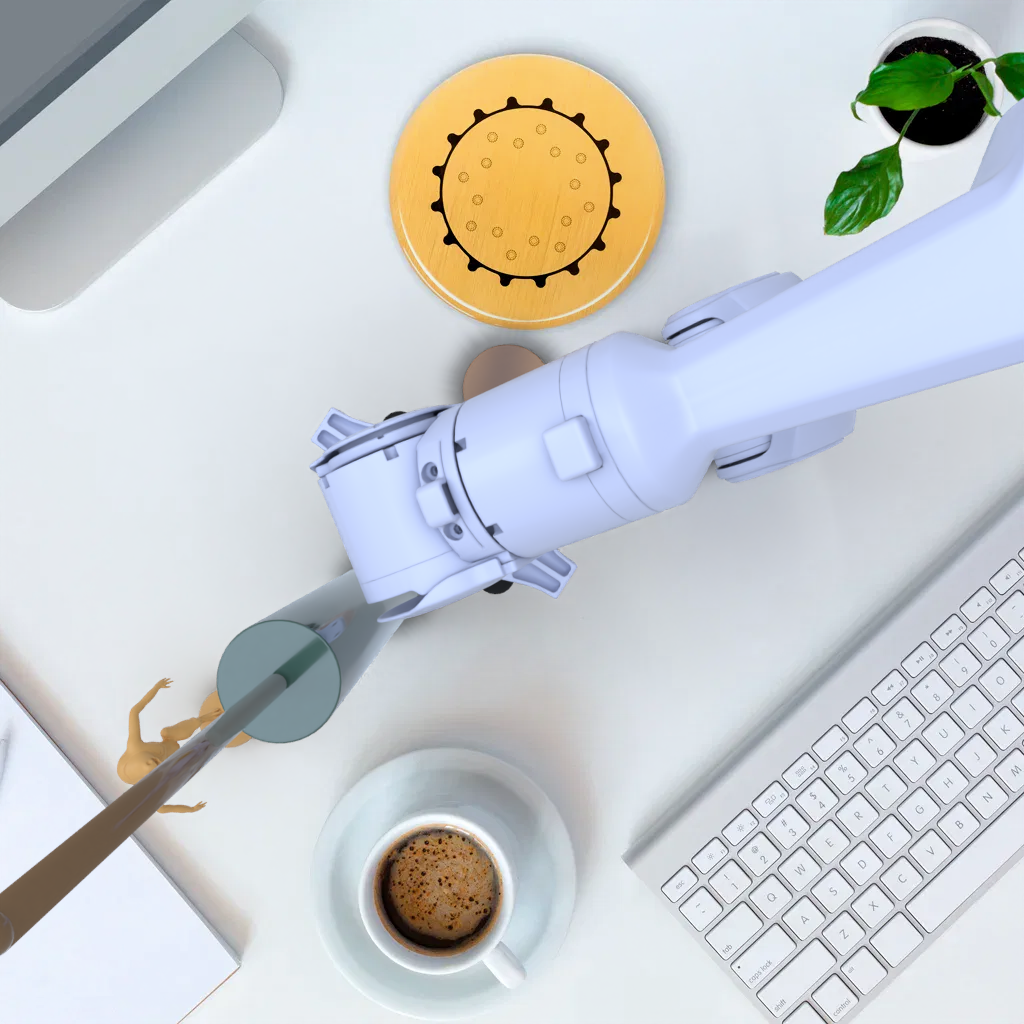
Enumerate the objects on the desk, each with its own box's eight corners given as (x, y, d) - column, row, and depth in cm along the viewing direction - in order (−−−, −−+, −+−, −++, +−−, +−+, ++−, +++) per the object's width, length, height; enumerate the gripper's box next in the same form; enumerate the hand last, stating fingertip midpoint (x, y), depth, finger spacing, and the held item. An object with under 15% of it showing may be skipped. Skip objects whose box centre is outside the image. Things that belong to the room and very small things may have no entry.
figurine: (282, 760, 65) (231, 823, 53) (198, 782, 65) (127, 850, 53) (250, 643, 65) (192, 680, 53) (165, 666, 65) (87, 707, 53)
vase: (410, 549, 65) (85, 774, 15) (424, 615, 65) (149, 1054, 15) (344, 563, 65) (-201, 834, 15) (358, 629, 65) (-134, 1114, 15)
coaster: (541, 337, 64) (542, 335, 64) (559, 424, 65) (560, 423, 64) (454, 355, 64) (454, 354, 64) (473, 442, 65) (473, 442, 64)
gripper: (253, 492, 43) (314, 489, 56) (525, 667, 43) (521, 623, 57) (338, 359, 43) (379, 389, 56) (610, 536, 43) (585, 523, 56)
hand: (454, 499), depth 56 cm, fingers closed on pot, 5 cm apart
